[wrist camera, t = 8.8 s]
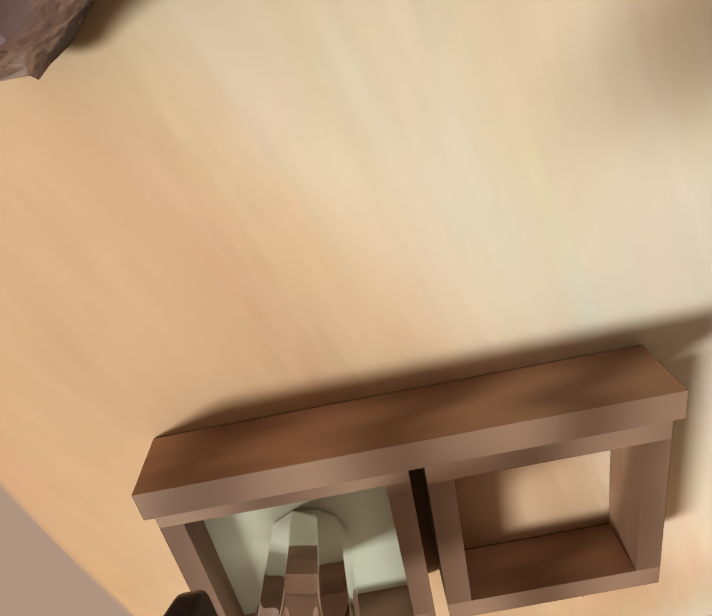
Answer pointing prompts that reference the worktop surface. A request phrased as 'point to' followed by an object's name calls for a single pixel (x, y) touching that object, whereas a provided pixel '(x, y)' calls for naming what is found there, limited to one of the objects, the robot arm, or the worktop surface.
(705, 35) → the worktop surface
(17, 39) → the geode
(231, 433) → the divided wooden tray
